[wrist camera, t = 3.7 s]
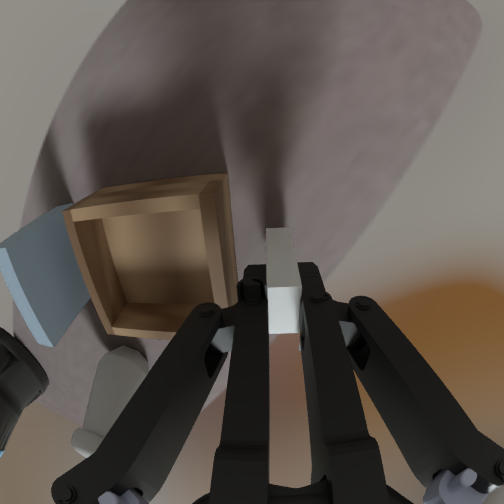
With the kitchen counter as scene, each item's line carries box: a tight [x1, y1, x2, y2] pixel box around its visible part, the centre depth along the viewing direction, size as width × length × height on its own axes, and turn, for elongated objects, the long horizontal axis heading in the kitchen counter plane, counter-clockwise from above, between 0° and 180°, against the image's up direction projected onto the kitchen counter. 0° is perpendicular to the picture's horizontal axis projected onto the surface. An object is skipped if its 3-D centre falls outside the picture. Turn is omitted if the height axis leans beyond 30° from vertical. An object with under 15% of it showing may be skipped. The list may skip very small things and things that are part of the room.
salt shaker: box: [71, 345, 149, 458], centre depth 20 cm, size 6×6×13 cm
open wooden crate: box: [62, 173, 238, 340], centre depth 17 cm, size 10×10×5 cm
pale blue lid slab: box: [0, 203, 91, 348], centre depth 16 cm, size 2×8×8 cm, turn 3°
